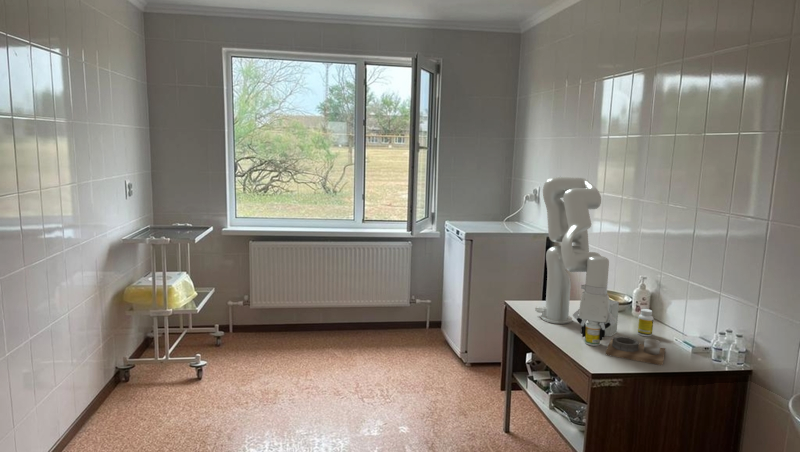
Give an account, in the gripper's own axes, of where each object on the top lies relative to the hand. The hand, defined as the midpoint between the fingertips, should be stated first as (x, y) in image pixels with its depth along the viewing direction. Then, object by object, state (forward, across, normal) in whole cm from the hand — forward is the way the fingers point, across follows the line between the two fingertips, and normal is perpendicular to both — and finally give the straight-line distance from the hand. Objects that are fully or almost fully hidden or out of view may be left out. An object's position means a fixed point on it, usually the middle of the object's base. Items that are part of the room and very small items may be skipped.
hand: (592, 337), depth 194 cm
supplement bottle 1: (+3, 0, 0) cm, 3 cm away
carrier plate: (+2, +15, -2) cm, 15 cm away
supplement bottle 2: (+3, +16, +22) cm, 27 cm away
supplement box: (+3, +2, +16) cm, 16 cm away
